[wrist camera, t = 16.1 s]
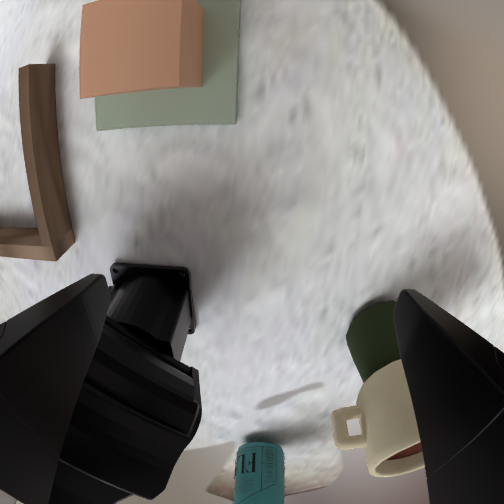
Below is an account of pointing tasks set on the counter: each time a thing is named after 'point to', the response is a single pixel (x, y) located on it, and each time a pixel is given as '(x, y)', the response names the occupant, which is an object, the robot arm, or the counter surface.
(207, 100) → the mat
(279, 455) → the beverage bottle
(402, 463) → the character mug
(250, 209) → the counter surface
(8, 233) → the stall
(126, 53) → the block
